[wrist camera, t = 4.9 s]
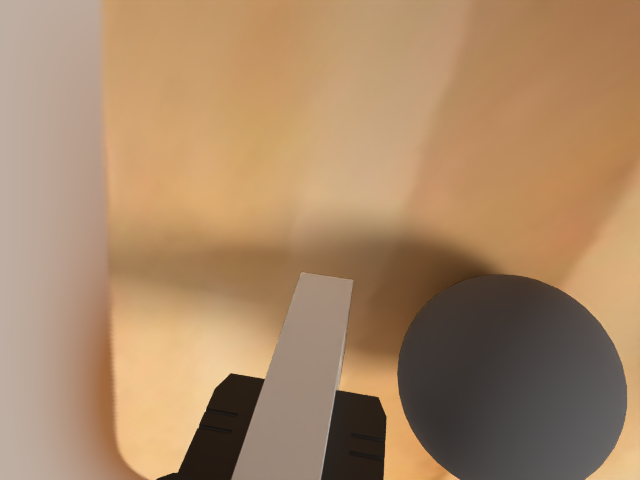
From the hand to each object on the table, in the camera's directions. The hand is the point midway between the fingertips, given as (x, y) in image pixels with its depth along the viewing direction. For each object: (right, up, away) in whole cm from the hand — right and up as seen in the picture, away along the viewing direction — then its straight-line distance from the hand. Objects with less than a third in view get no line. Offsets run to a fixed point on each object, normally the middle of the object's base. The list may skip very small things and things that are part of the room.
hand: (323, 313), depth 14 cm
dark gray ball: (+5, -1, -1) cm, 5 cm away
